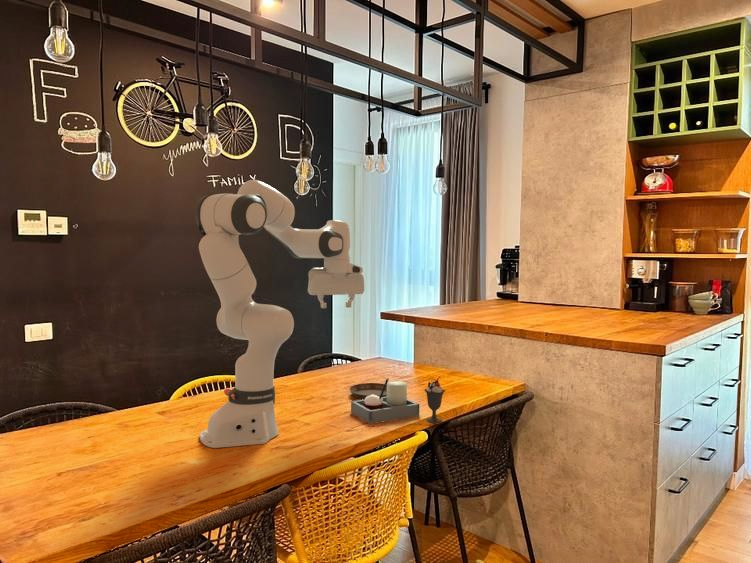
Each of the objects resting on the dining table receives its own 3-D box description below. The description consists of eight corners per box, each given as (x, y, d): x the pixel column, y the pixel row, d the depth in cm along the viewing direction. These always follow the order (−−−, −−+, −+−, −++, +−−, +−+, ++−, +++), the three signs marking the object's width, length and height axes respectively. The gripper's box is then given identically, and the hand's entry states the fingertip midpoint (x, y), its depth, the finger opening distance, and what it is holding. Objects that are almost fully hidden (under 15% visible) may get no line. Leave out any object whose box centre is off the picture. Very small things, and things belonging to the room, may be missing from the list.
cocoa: (357, 414, 186) (356, 378, 186) (369, 409, 191) (368, 374, 190) (380, 418, 180) (378, 382, 180) (392, 413, 185) (390, 378, 184)
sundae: (443, 424, 179) (444, 378, 178) (422, 423, 180) (423, 376, 179) (445, 418, 185) (446, 373, 184) (425, 417, 186) (426, 372, 186)
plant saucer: (386, 405, 201) (386, 396, 201) (341, 399, 207) (341, 391, 207) (402, 393, 217) (402, 385, 217) (360, 388, 224) (360, 381, 224)
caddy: (369, 423, 178) (369, 392, 178) (351, 413, 190) (351, 383, 189) (419, 416, 187) (419, 386, 187) (398, 406, 199) (399, 378, 198)
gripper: (312, 268, 185) (311, 309, 186) (366, 268, 195) (366, 307, 196) (305, 267, 191) (304, 307, 192) (358, 267, 201) (358, 306, 201)
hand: (336, 307), depth 194 cm, fingers open, 8 cm apart
